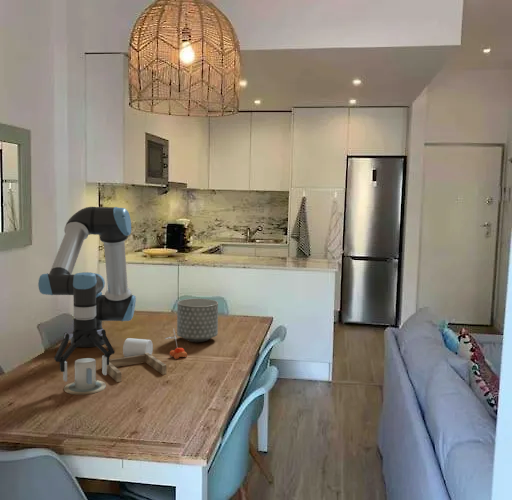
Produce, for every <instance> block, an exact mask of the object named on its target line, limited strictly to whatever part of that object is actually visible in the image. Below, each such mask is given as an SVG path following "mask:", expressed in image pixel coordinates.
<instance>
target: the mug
mask: <svg viewBox="0 0 512 500" xmlns="http://www.w3.org/2000/svg"><path fill="white" fill-rule="evenodd" d="M153 346H154V345H153V341H152V340H151V339H145V338H131V337H128V338H126V339H125V340H124V342H123V346H122V353H123V357H131V356H138V355H145V353H149V354H151V355H152V356H153V350H154V347H153Z"/></svg>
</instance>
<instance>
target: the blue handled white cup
mask: <svg viewBox="0 0 512 500" xmlns="http://www.w3.org/2000/svg"><path fill="white" fill-rule="evenodd" d="M96 380H97V361H96V359H95V358H91V357H86V358H78V359H76V360H74V382H75V388H76V389H80V390H87V389H92V388H94V387H95V386H96Z"/></svg>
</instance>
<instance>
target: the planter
mask: <svg viewBox="0 0 512 500" xmlns="http://www.w3.org/2000/svg"><path fill="white" fill-rule="evenodd" d="M176 310H177V311H176V312H177V313H176V314H177V315H176V316H177V319H176V328H177V329H176V336H178V337H180V338H182V339H184V340H186V341H188V342H191V343H203V342H206V341H209V340H211V339H212V338H215V337H216V336H218V329H219V328H218V327H219V322H218V320H219V302H218V301H217V300H215V299H210V298H209V299H208V298H207V299H206V298H187V299H186V298H185V299H181V300H178V301H177V309H176Z"/></svg>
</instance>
